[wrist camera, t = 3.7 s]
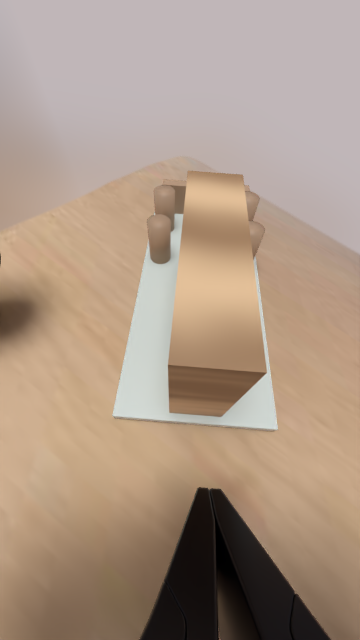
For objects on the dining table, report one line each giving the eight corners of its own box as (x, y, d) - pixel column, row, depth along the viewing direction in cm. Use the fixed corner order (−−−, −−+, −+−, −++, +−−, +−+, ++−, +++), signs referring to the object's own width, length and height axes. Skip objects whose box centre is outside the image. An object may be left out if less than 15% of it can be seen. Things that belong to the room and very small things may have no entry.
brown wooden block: (221, 417, 16) (267, 372, 8) (169, 412, 16) (167, 364, 8) (218, 272, 23) (242, 174, 15) (182, 269, 23) (188, 170, 15)
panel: (273, 431, 16) (307, 419, 12) (114, 418, 17) (96, 402, 12) (248, 219, 28) (261, 178, 24) (155, 212, 29) (153, 170, 24)
